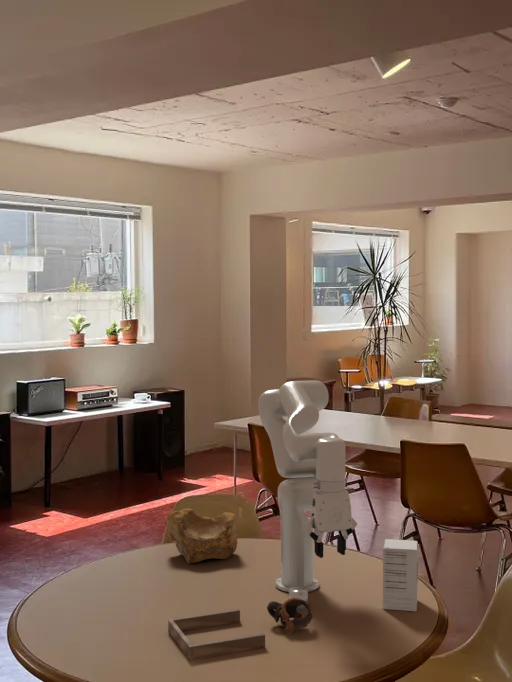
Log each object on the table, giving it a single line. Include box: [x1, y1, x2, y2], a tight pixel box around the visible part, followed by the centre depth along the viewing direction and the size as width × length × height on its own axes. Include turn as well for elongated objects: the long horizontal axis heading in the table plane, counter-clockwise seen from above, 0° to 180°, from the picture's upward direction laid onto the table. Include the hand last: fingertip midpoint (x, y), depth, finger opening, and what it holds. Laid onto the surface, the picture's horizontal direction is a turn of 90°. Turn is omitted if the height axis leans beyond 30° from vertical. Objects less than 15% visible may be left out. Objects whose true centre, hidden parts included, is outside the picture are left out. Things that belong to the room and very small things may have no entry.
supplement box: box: [382, 538, 419, 612], centre depth 230 cm, size 10×9×17 cm
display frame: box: [167, 608, 266, 661], centre depth 207 cm, size 18×19×3 cm
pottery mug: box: [266, 598, 314, 634], centre depth 215 cm, size 12×10×8 cm
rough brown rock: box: [166, 507, 238, 565], centre depth 270 cm, size 23×17×15 cm
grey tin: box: [288, 587, 309, 613], centre depth 228 cm, size 5×5×5 cm
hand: (330, 554), depth 218 cm, fingers open, 5 cm apart
